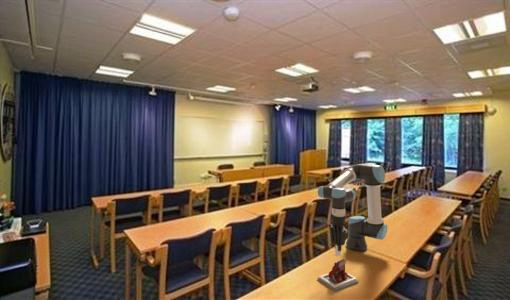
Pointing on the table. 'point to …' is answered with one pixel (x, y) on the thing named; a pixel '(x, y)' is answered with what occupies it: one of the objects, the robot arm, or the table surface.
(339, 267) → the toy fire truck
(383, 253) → the table surface
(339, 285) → the base board
